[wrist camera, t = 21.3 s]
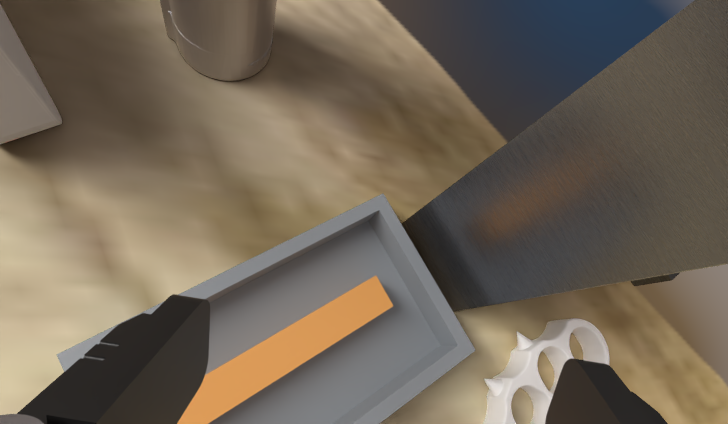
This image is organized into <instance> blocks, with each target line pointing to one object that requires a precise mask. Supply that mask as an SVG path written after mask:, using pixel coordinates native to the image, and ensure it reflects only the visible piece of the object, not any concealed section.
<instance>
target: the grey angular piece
mask: <svg viewBox="0 0 728 424" xmlns="http://www.w3.org/2000/svg"><path fill="white" fill-rule="evenodd" d="M60 124H62V119H61V116H60V114H59V112H58V110H57V108H56V106H55V104H54V102H53V100H52V99H51V97H50V95H49V93H48V91H47V89H46V87H45V86H44V84H43V82H42V80H41V78H40V76H39V74H38V73H37V71H36V69H35V67H34V65H33V63H32V61H31V60H30V58H29V56H28V54H27V52H26V50H25V48H24V47H23V45H22V43H21V41H20V39H19V37H18V35H17V34H16V32H15V30H14V28H13V26H12V24H11V22H10V21H9V19H8V17H7V15H6V13H5V11H4V9H3V8H2V6H1V4H0V144H3V143H6V142H9V141H12V140H15V139H18V138H21V137H24V136H27V135H30V134H33V133H36V132H39V131H42V130H45V129H48V128H51V127H54V126H57V125H60Z"/></svg>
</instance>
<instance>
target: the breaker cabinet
mask: <svg viewBox="0 0 728 424" xmlns="http://www.w3.org/2000/svg"><path fill="white" fill-rule="evenodd" d="M402 226H403V228H404V230H405V231H406V233H407V235H408V236H409V238H410V240H411V241H412V243H413V245H414V247H415V248H416V250H417V252H418V253H419V255H420V257H421V258H422V260H423V262H424V264H425V265H426V267H427V269H428V270H429V272H430V274H431V275H432V277H433V279H434V280H435V282H436V284H437V286H438V287H439V289H440V291H441V292H442V294H443V296H444V297H445V299H446V301H447V303H448V304H449V306H450V308H451V309H452V311H459V310H465V309H470V308H476V307H482V306H488V305H493V304H499V303H505V302H511V301H518V300H523V299H529V298H535V297H541V296H546V295H552V294H558V293H564V292H569V291H575V290H581V289H587V288H592V287H598V286H604V285H610V284H615V283H621V282H627V281H631V282H632V284H633V285H634V286H639V285H645V284H651V283H658V282H664V281H670V280H673V279H674V278H675V276H677V275H678V274H679V273H680V272H684V271H690V270H696V269H701V268H707V267H713V266H719V265H724V264H728V0H695V1H693V2H692V3H691V4H689V5H688V6H687V7H685V8H684V9H683V10H681V11H680V12H679V13H677V14H676V15H675V16H674V17H673V18H671V19H670V20H668V21H667V22H666V23H664V24H663V25H662V26H660V27H659V28H658V29H656V30H655V31H654V32H653V33H651V34H650V35H649V36H647V37H646V38H645V39H643V40H642V41H641V42H639V43H638V44H637V45H635V46H634V47H633V48H632V49H630V50H629V51H628V52H626V53H625V54H624V55H622V56H621V57H620V58H618V59H617V60H616V61H615V62H613V63H612V64H611V65H609V66H608V67H607V68H605V69H604V70H603V71H602V72H600V73H599V74H597V75H596V76H595V77H593V78H592V79H591V80H590V81H588V82H587V83H586V84H584V85H583V86H582V87H580V88H579V89H578V90H576V91H575V92H574V93H573V94H572V95H570V96H569V97H567V98H566V99H565V100H563V101H562V102H561V103H559V104H558V105H557V106H555V107H554V108H553V109H552V110H550V111H549V112H548V113H546V114H545V115H544V116H542V117H541V118H540V119H538V120H537V121H536V122H534V123H533V124H532V125H531V126H529V127H528V128H527V129H525V130H524V131H523V132H521V133H520V134H519V135H517V136H516V137H515V138H514V139H512V140H511V141H510V142H508V143H507V144H506V145H504V146H503V147H502V148H500V149H499V150H498V151H496V152H495V153H494V154H492V155H491V156H490V157H489V158H487V159H486V160H485V161H483V162H482V163H481V164H479V165H478V166H477V167H475V168H474V169H473V170H472V171H470V172H469V173H468V174H466V175H465V176H464V177H462V178H461V179H460V180H458V181H457V182H456V183H454V184H453V185H452V186H451V187H449V188H448V189H447V190H445V191H444V192H443V193H441V194H440V195H439V196H437V197H436V198H435V199H433V200H432V201H431V202H430V203H428V204H427V205H426V206H424V207H423V208H422V209H420V210H419V211H418V212H416V213H415V214H414V215H412V216H411V217H410V218H409V219H407V220H406V221H405V222H403V223H402Z"/></svg>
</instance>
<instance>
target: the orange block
mask: <svg viewBox="0 0 728 424" xmlns="http://www.w3.org/2000/svg"><path fill="white" fill-rule="evenodd" d="M391 307H393V304H392V302H391V301H390V299H389V297H388V295H387V293H386V292H385V290H384V288H383V286H382V285H381V283H380V281H379V279H378V278H377V276H374V277H372V278H370V279H368V280H366V281H365V282H363V283H361V284H360V285H358V286H356V287H354V288H353V289H351V290H349V291H348V292H346V293H344V294H342V295H341V296H339V297H337V298H336V299H334V300H332V301H330V302H329V303H327V304H325V305H324V306H322V307H320V308H318V309H317V310H315V311H313V312H312V313H310V314H308V315H307V316H305V317H303V318H301V319H300V320H298V321H296V322H295V323H293V324H291V325H289V326H288V327H286V328H284V329H283V330H281V331H279V332H277V333H276V334H274V335H272V336H271V337H269V338H267V339H265V340H264V341H262V342H260V343H259V344H257V345H255V346H253V347H252V348H250V349H248V350H247V351H245V352H243V353H241V354H240V355H238V356H236V357H235V358H233V359H231V360H230V361H228V362H226V363H224V364H223V365H221V366H219V367H218V368H216V369H214V370H212V371H211V372H209V373H207V374H206V375H205V376H204V379H203V382H202V384H201V386H200V388H199V389H198V391H197V393H196V394H195V396H194V397H193V399H192V401H191V402H190V404H189V405H188V407H187V409H186V410H185V412H184V413H183V415H182V417H181V418H180V420H179V421H178V423H177V424H208V423H210V422H211V421H213V420H215V419H216V418H218V417H219V416H221V415H223V414H224V413H226V412H227V411H229V410H230V409H232V408H234V407H235V406H237V405H238V404H240V403H241V402H243V401H245V400H246V399H248V398H249V397H251V396H253V395H254V394H256V393H257V392H259V391H260V390H262V389H264V388H265V387H267V386H268V385H270V384H271V383H273V382H275V381H276V380H278V379H279V378H281V377H282V376H284V375H286V374H287V373H289V372H290V371H292V370H294V369H295V368H297V367H298V366H300V365H301V364H303V363H305V362H306V361H308V360H309V359H311V358H312V357H314V356H316V355H317V354H319V353H320V352H322V351H323V350H325V349H327V348H328V347H330V346H331V345H333V344H335V343H336V342H338V341H339V340H341V339H342V338H344V337H346V336H347V335H349V334H350V333H352V332H353V331H355V330H357V329H358V328H360V327H361V326H363V325H365V324H366V323H368V322H369V321H371V320H372V319H374V318H376V317H377V316H379V315H380V314H382V313H383V312H385V311H387V310H388V309H390V308H391Z"/></svg>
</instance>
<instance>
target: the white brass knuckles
mask: <svg viewBox="0 0 728 424" xmlns="http://www.w3.org/2000/svg"><path fill="white" fill-rule="evenodd" d="M571 333H573V334H574V335H575V337H576V339H577V340H578V342H579V344H580V345H581V348H582V351H583V360H585V361H591V362H597V363H604V364H607V365H609V360H610V358H609V350H608V346H607V343H606V341H605V339H604V337H603V335H602V334H601V332H600V331H599V330H598V329H597V328H596V327H595V326H594V325H593V324H591V323H590V322H588V321H586V320H583V319H579V318H572V319H561V320H552V321H549V322H548V323H547V326H546V328H545V330H544V332H543V333H542V334H541V335H540V336H539V337H538V338H536V339H533V340H530V339H528V338H527V337H525V336H524V335H522V334H521V333H519V332H517V341H518V346H517V347H515V348H514V349H513V350H512V351H511V356H510V360H509V362H508V365H507V366H506V368H505V369H504V370H503V371H502V372H501V373H500V374H498V375H496V376H494V377H493V379H484V380H485V382H486V384H487V386H488V387H489V391H488V394H487V413H486V417H485V420H484V422H483V424H517V423H516V422H515V420H514V418H513V415H512V410H511V402H512V398H513V395H514V393H515V392H516V390H517V389H519V388H521V389H523V390H524V391H525V392H527V394H528V395H529V396H530V398H531V400H532V403H533V409H534V412H533V418H532V420H531V422H530V424H545V422H546V415H547V411H548V408H549V406H550V403H551V400H552V397H553V394H554V391H555V388H556V385H557V382H558V379H559V376H560V373H561V370H562V368H563V365H564V363H565V362H566V361H567V360H568V359H574V357H573V355H572V353H571V350H570V346H569V340H570V335H571ZM541 351H543V352H544V353H545V354H546V356H547V357H548V359H549V361H550V363H551V364H552V366H553V369H554V375H555V378H554V383H553V386H552V388H551V389H550V390H548V389H547V388H546V386H545V384H544V383H543V381H542V379H541V377H540V375H539V372H538V365H537V363H538V357H539V355H540V353H541Z"/></svg>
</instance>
